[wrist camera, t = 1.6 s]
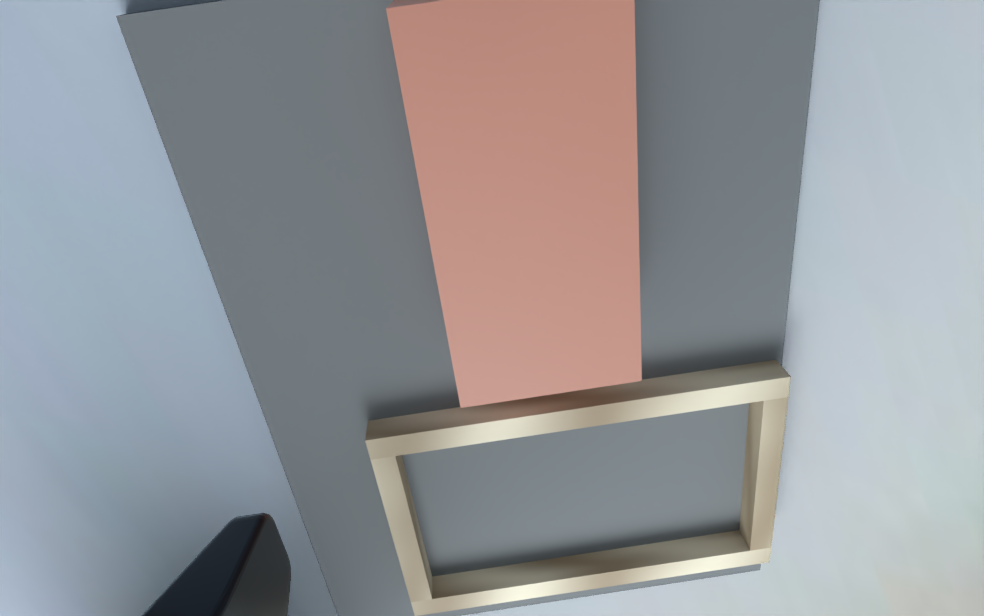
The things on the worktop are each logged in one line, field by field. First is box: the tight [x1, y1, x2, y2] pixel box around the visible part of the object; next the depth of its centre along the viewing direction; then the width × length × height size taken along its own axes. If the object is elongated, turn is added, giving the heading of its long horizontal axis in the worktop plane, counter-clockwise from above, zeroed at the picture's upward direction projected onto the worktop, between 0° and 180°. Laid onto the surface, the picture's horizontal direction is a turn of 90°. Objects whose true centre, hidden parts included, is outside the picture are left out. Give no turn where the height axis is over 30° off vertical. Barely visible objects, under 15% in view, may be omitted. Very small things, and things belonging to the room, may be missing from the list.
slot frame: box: [365, 360, 791, 616], centre depth 23 cm, size 14×9×1 cm, turn 97°
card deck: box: [386, 0, 642, 408], centre depth 17 cm, size 5×10×3 cm, turn 7°
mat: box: [116, 0, 820, 616], centre depth 21 cm, size 17×23×1 cm
